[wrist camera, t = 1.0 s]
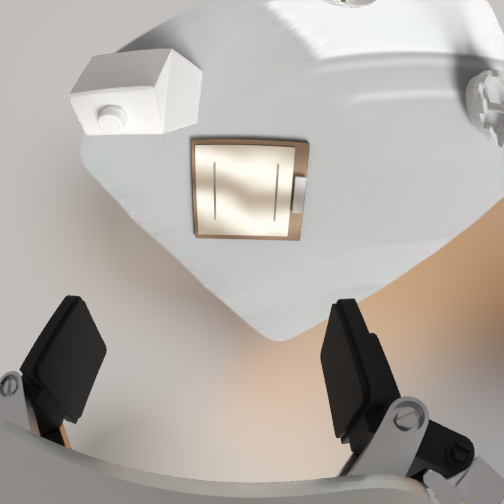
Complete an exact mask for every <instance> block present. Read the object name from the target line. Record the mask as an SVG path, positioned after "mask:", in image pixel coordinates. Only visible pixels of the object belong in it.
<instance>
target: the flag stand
mask: <svg viewBox="0 0 504 504" xmlns="http://www.w3.org/2000/svg"><path fill="white" fill-rule="evenodd" d="M465 103H466V109H467V113H468V116H469V119H470V121H471V123H472V125H473V126H474V128H475V129H476V130H477V131H478V132H479V133H481V134H482V135H484V136H485V138H486V139H487V140H488V141H489V142H491V143H493V144H494V145H497V146H500V147H503V148H504V72H502V71H498V70H485V71H482V72H481V73H480V74H479V75H477V76H474V77H472V78H471V79H470V81H469V82H468V84H467V87H466V93H465Z"/></svg>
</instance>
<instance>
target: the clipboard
mask: <svg viewBox="0 0 504 504" xmlns="http://www.w3.org/2000/svg"><path fill="white" fill-rule="evenodd" d="M191 142H192V182H193V205H194V224H195V238H217V239H258V240H293V241H300V235H301V226H302V218H303V209H304V199H305V190H306V180H307V169H308V158H309V146H310V143H305V142H293V141H278V140H257V139H192V140H191Z"/></svg>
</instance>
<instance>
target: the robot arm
mask: <svg viewBox="0 0 504 504" xmlns="http://www.w3.org/2000/svg"><path fill="white" fill-rule="evenodd" d="M324 1H327V2H329V3H332V4H334V5H339V6H342V7H350V8H357V7H364V6H367V5H370V4H372V3H373V2H375V1H376V0H341V1H342V2H341V1H340V0H324ZM106 351H107V350H106V345H105V343H104V341H103V339H102V337H101V335H100V333H99V331H98V329H97V327H96V325H95V323H94V321H93V319H92V317H91V315H90V312H89V310H88V308H87V306H86V303H85V302H84V301H83V300H82V299H81V297H79V296H70V295H68V296H66V297H65V298H64V300H63V301H62V303H61V304H60V305H59V307H58V308H57V310H56V311H55V313H54V314H53V315H52V317H51V318H50V320H49V321H48V323H47V325H46V326H45V328H44V329H43V331H42V332H41V334H40V335H39V337H38V339H37V340H36V342H35V343H34V345H33V347H32V348H31V350H30V352H29V354H28V356H27V357H26V359H25V361H24V362H23V364H22V366H21V368H20V371H21V372H22V373H23V375H22V377H21V375H20V374H19V373H17V372H15V371H10V372H7V373H6V374H4V375H3V376H2V377H1V379H0V504H433V503H432V500H431V498H430V496H429V494H428V492H427V490H426V488H430V489H431V490H432V491H433V492H434V493H435V494H436V495H435V497H436V498H437V499H438V500H439V502H440V503H441V504H500V503H501V502H502V500H503V498H504V479H503V478H502V477H501V476H500V475H499V474H497V472H496V471H495V470H493V468H492V467H490V466H489V465H488V464H487V463H486V462H485V461H484V460H483V459H482V458H481V457H480V456H478V457H477V458H476V457H475V456H474V453H475V452H474V446H473V443H472V442H471V441H470V439H468V438H467V437H465V436H463V435H461V434H459V433H457V432H454V431H452V430H450V429H448V428H446V427H444V426H442V425H440V424H438V423H436V422H434V421H432V420H430V419H429V412H428V410H427V407H426V406H425V405H424V404H423V402H422V401H420V400H418V399H417V398H414V397H402V398H401V396H400V393H399V390H398V387H397V385H396V382H395V379H394V377H393V374H392V372H391V369H390V366H389V364H388V361H387V359H386V356H385V354H384V352H383V349H382V346H381V345H380V342H379V339H378V337H377V335H376V334H374V333H369V331H368V329H367V326H366V324H365V322H364V319H363V317H362V314H361V312H360V310H359V307H358V305H357V303H356V301H355V299H339V300H338V301H337V304H333V305H332V307H331V312H330V316H329V321H328V326H327V329H326V334H325V338H324V342H323V346H322V350H321V364H322V369H323V374H324V378H325V383H326V389H327V393H328V399H329V403H330V409H331V414H332V420H333V425H334V430H335V435H336V437H337V438H341V443H342V444H346V443H350V447H351V451H352V452H353V453H352V455H351V456H350V458H349V459H348V461H347V462H346V464H345V465H344V466H343V468H342V469H341V471H340V472H339V474H338V475H337V476H336V477H333V478H323V479H314V480H304V481H291V482H270V483H234V482H215V481H204V480H194V479H186V478H179V477H172V476H166V475H160V474H155V473H150V472H145V471H140V470H136V469H132V468H128V467H124V466H120V465H117V464H113V463H109V462H106V461H103V460H100V459H97V458H94V457H90V456H88V455H85V454H82V453H79V452H77V451H74V450H72V448H71V445H70V442H69V440H68V437H67V434H66V431H65V428H64V425H63V419H65V420H66V421H69V422H72V423H75V424H76V423H77V420H78V418H80V417H81V415H82V413H83V410H84V407H85V405H86V402H87V399H88V396H89V394H90V391H91V389H92V386H93V384H94V381H95V379H96V376H97V374H98V371H99V369H100V367H101V364H102V362H103V359H104V357H105V355H106Z"/></svg>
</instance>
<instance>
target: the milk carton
mask: <svg viewBox="0 0 504 504" xmlns="http://www.w3.org/2000/svg"><path fill="white" fill-rule="evenodd" d="M202 77H203V71H202V70H201V69H199V68H198V67H197V66H195V65H194V64H193V63H191V62H190V61H189V60H187V59H186V58H184V57H183V56H182V55H180V54H179V53H178V52H176V51H175V50H173V49H172V48H162V49H147V50H136V51H127V52H119V53H112V54H106V55H100V56H96V57H92V59H91V60H90V62H89V64H88V65H87V66H86V68H85V69H84V71H83V73H82V74H81V76H80V77H79V79H78V81H77V83H76V84H75V86H74V88H73V89H72V91H71V93H70V94H68V95H62V96H61V98H69V99H70V101H71V104H72V106H73V108H74V110H75V112H76V114H77V117H78V119H79V121H80V122H81V125H82V127H83V129H84V131H85V133H86V134H87V135H111V134H164V133H167V132H170V131H173V130H176V129H179V128H182V127H186V126H189V125H192V124H196V123H197V120H198V111H199V102H200V93H201V85H202Z"/></svg>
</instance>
